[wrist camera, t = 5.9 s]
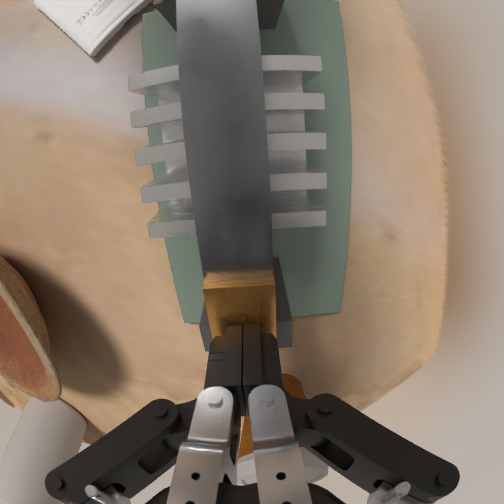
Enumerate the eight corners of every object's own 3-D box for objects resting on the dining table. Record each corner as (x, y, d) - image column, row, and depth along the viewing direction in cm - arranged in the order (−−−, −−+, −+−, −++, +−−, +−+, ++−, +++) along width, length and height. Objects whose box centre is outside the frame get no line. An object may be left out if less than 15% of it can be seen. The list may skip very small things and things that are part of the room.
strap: (176, -49, 6) (168, -67, 4) (254, -58, 6) (255, -78, 4) (214, 338, 15) (212, 361, 13) (279, 334, 15) (282, 358, 13)
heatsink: (175, 91, 16) (127, 71, 9) (290, 81, 16) (320, 51, 9) (186, 197, 20) (150, 243, 12) (295, 189, 20) (325, 231, 12)
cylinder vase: (44, 382, 32) (-4, 496, 9) (99, 424, 36) (68, 534, 14) (27, 392, 34) (-13, 483, 12) (73, 428, 39) (44, 518, 17)
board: (146, 17, 13) (142, 13, 12) (335, 4, 13) (338, 0, 12) (186, 317, 24) (184, 322, 24) (337, 307, 24) (339, 312, 24)
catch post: (214, 256, 22) (199, 326, 14) (277, 252, 22) (292, 320, 14) (217, 278, 23) (205, 351, 15) (278, 274, 23) (291, 346, 15)
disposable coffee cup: (220, 396, 30) (215, 484, 19) (264, 353, 27) (271, 461, 16) (282, 414, 32) (290, 492, 22) (330, 378, 29) (353, 466, 18)
